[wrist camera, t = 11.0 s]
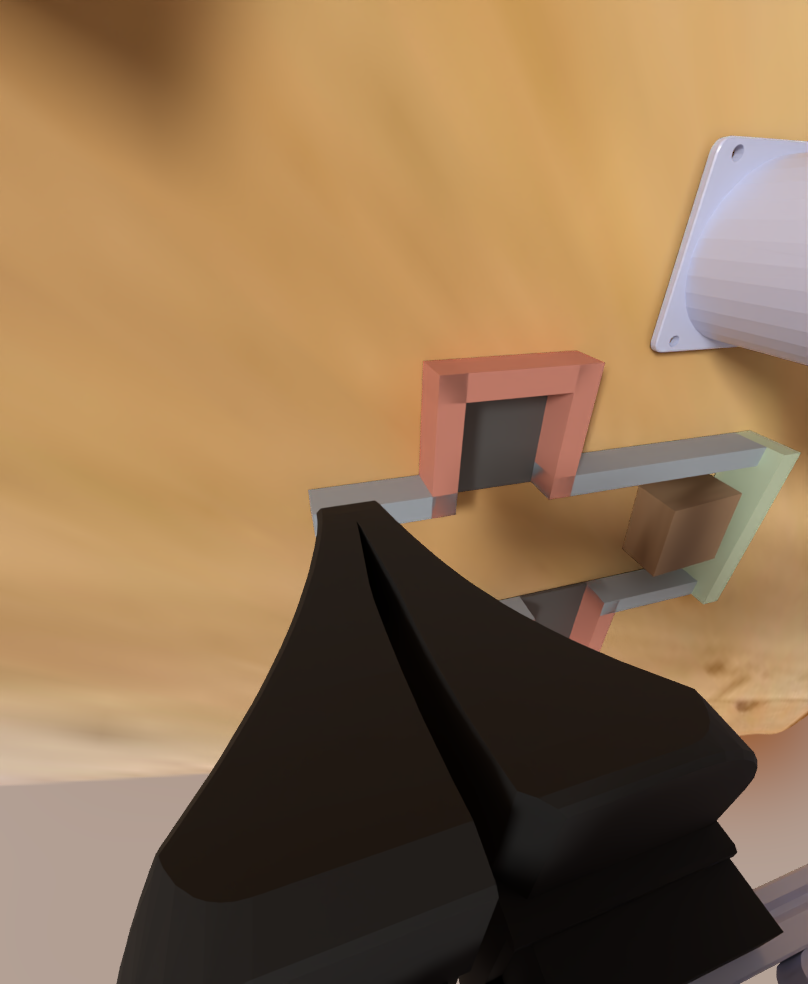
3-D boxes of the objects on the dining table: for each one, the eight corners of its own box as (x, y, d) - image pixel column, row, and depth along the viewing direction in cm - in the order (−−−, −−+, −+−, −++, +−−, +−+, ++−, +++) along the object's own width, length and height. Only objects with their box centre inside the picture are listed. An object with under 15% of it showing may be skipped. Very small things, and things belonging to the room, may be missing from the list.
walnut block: (698, 467, 27) (742, 493, 24) (676, 530, 30) (714, 558, 27) (636, 483, 26) (675, 511, 24) (620, 546, 29) (653, 576, 26)
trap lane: (795, 335, 23) (859, 349, 21) (657, 622, 35) (687, 652, 33) (293, 370, 17) (299, 396, 14) (335, 704, 29) (342, 749, 26)
